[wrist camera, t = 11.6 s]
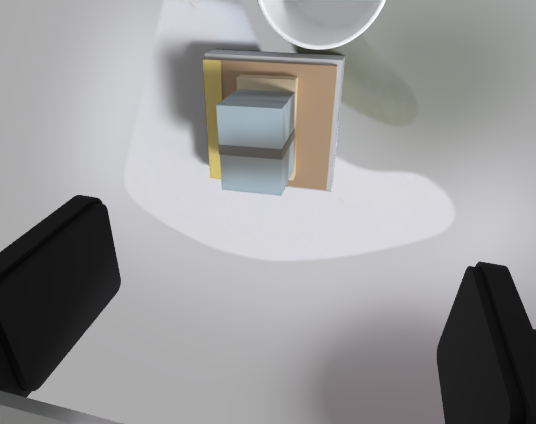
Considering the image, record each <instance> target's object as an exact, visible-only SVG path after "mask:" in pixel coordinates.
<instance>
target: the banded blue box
mask: <svg viewBox="0 0 536 424" xmlns="http://www.w3.org/2000/svg"><path fill="white" fill-rule="evenodd" d="M297 90H298V77H291V76H265V75H239V76H238V77H237V90H236V91H234V92H233V93H232V94H230V95H229V96H228V97H226V98H225V99H224V100H222V101H221V102H220V103H218V104H217V105H216V108H217V123H218V137H219V145H218V149H219V155H220V166H221V180H222V190H230V191H240V192H250V193H260V194H270V195H280V196H281V195H282V193H283V191H284V189H285V187H286V185H287V183H288V180H293V179H294V177H295V169H296V130H297Z"/></svg>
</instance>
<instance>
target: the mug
mask: <svg viewBox="0 0 536 424" xmlns="http://www.w3.org/2000/svg"><path fill="white" fill-rule="evenodd" d="M257 1H258V4H259V6H260V9H261V11H262V13H263V15H264V17H265V18H266V20H267V22H268V23H269V24H270V26H271V27H272V28H273V29H274V30H275V31H276V32H277V33H278V34H279V35H280V36H281V37H283V38H284V39H285V40H287V41H289V42H291V43H292V44H295V45H297V46H300V47H303V48H307V49H315V50H320V49H330V48H335V47H338V46H341V45H343V44H345V43H348V42H350V41H351V40H353V39H354V38H356V37H358V36H359V35H360V34H361V33H363V32H364V31H365V30H366V29H367V28H368V27H369V26H370V25H371V23H372V22H373V21H374V20H375V18H376V17H377V16H378V14H379V12H380V11H381V9H382V7H383V5H384V3H385V1H386V0H257Z"/></svg>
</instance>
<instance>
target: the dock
mask: <svg viewBox="0 0 536 424" xmlns="http://www.w3.org/2000/svg"><path fill="white" fill-rule="evenodd" d="M344 62H345V56H342V55H321V54H299V53H276V52H257V51H236V50H215V49H214V50H212V51H209V52H207V53H205V59H203V74H204V89H205V105H206V120H207V135H208V151H209V166H210V178H214V179H221V166H220V155H219V149H218V145H219V137H218V123H217V108H216V105H217V104H218V103H220V102H221V101H222V100H224V99H225V98H226V97H228V96H229V95H230V94H232V93H233V92H234V91H236V90H237V77H238V76H239V75H265V76H291V77H298V90H297V130H296V169H295V177H294V179H293V180H288V183H287V185H286V187H293V188H302V189H311V190H320V191H329V192H331V188H332V184H333V177H334V167H335V156H336V145H337V135H338V125H339V114H340V104H341V93H342V83H343V73H344Z"/></svg>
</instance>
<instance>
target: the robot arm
mask: <svg viewBox="0 0 536 424" xmlns="http://www.w3.org/2000/svg"><path fill="white" fill-rule="evenodd" d="M120 284H121V278H120V273H119V268H118V263H117V257H116V252H115V247H114V242H113V237H112V231H111V226H110V220H109V215H108V210H107V207H106V206H105V205H104V204H102V201H101V200H100V199H98V198H95V197H89V196H83V195H77V196H75V197H73V198H72V199H70V200H69V201H68V202H66V203H65V204H64V205H62V206H61V207H60V208H58V209H57V210H56V211H54V212H53V213H52V214H51V215H49V216H48V217H47V218H45V219H44V220H42V221H41V222H40V223H38V224H37V225H36V226H34V227H33V228H32V229H30V230H29V231H28V232H26V233H25V234H24V235H22V236H21V237H20V238H19V239H17V240H16V241H14V242H13V243H12V244H10V245H9V246H8V247H7V248H5V249H4V250H2V251H1V252H0V424H123V423H119V422H115V421H111V420H108V419H104V418H101V417H96V416H93V415H89V414H86V413H82V412H78V411H74V410H70V409H67V408H63V407H59V406H56V405H52V404H48V403H44V402H40V401H37V400H33V399H29V398H27V396H28V395H29V394H30V393H31V392H32V391H35V390H37V389H39V388H40V387H41V385H42V384H43V383H44V382H45V381H46V379H47V378H48V377H49V376H50V374H51V373H52V372H53V371H54V370H55V368H56V367H57V366H58V365H59V363H60V362H61V361H62V360H63V358H64V357H65V356H66V355H67V353H68V352H69V351H70V350H71V349H72V347H73V346H74V345H75V344H76V342H77V341H78V340H79V339H80V338H81V336H82V335H83V334H84V333H85V331H86V330H87V329H88V328H89V327H90V325H91V324H92V323H93V322H94V320H95V319H96V318H97V317H98V315H99V314H100V313H101V312H102V311H103V309H104V308H105V307H106V306H107V304H108V303H109V302H110V300H111V299H112V298H113V297H114V296H115V294H116V293H117V292H118V290H119V288H120ZM437 365H438V372H439V380H440V386H441V395H442V402H443V410H444V418H445V424H536V330H535V329H533V328H532V326H531V324H530V321H529V319H528V316H527V314H526V311H525V309H524V306H523V304H522V301H521V299H520V297H519V294H518V292H517V289H516V287H515V284H514V282H513V279H512V277H511V274H510V272H509V270H508V268H507V267H506V266H502V265H497V264H491V263H485V262H478V263H477V264H476V266H475V267H471V266H469V267H468V268H467V269H466V271H465V274H464V277H463V279H462V282H461V285H460V287H459V290H458V293H457V295H456V298H455V301H454V304H453V306H452V309H451V312H450V314H449V317H448V320H447V322H446V325H445V328H444V330H443V333H442V336H441V338H440V341H439V344H438V348H437Z"/></svg>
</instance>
